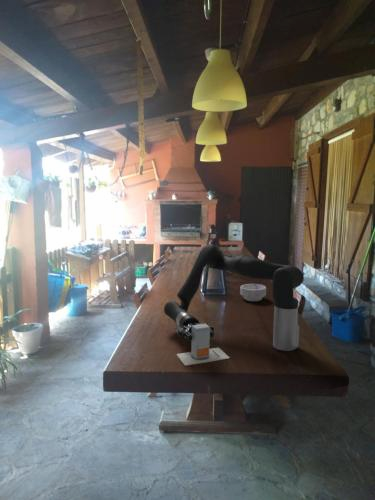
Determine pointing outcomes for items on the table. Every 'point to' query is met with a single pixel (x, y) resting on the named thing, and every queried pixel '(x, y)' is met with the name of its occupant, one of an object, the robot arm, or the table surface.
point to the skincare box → (200, 341)
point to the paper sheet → (213, 356)
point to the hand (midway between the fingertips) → (202, 336)
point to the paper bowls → (253, 292)
